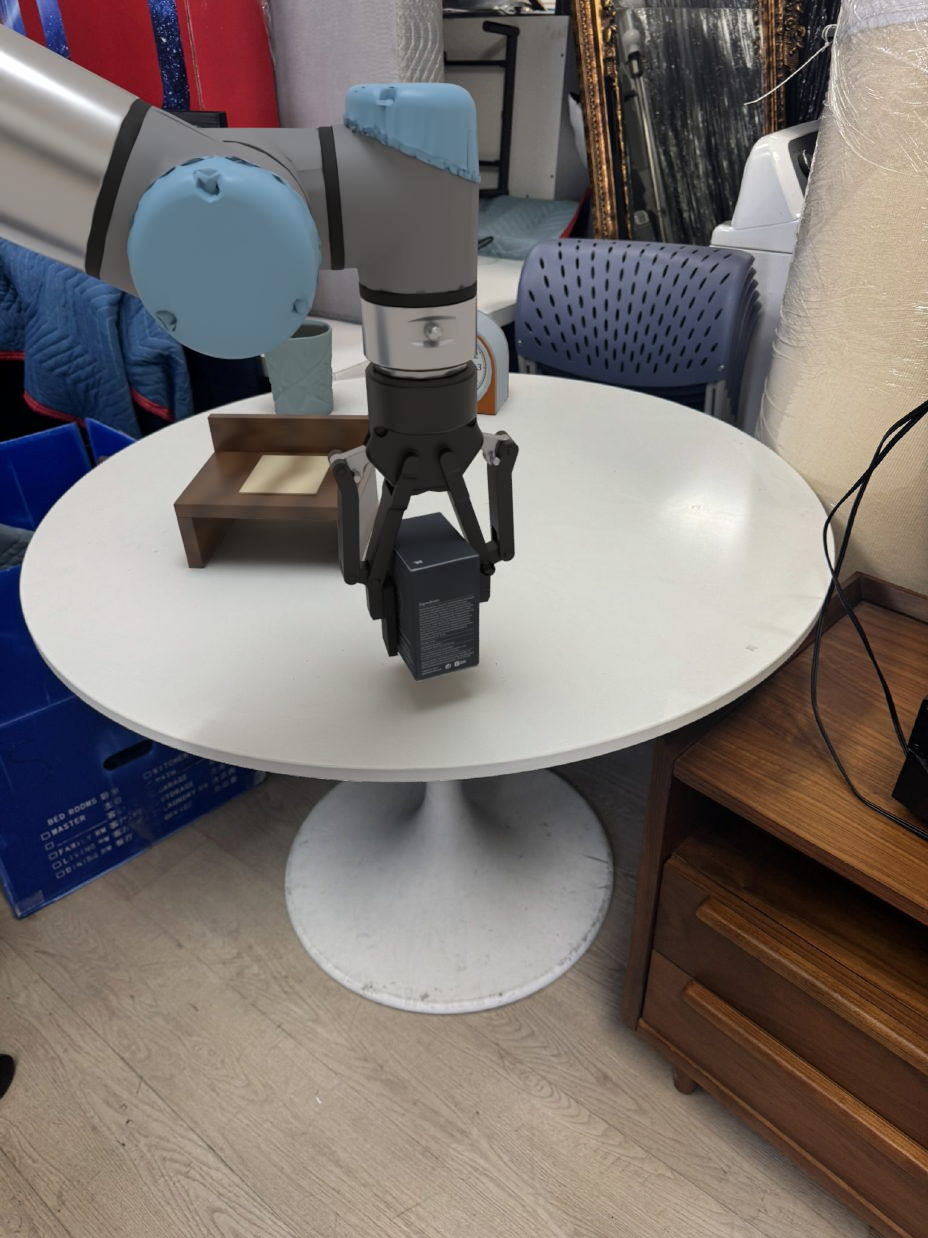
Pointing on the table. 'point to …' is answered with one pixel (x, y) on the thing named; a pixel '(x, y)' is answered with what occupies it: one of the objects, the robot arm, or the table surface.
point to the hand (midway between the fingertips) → (430, 639)
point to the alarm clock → (491, 365)
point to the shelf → (271, 476)
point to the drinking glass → (303, 371)
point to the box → (435, 597)
